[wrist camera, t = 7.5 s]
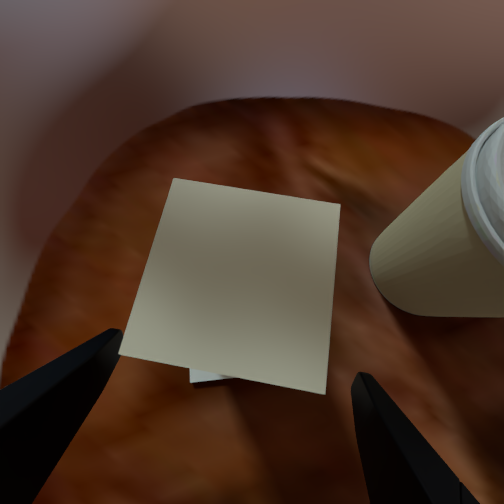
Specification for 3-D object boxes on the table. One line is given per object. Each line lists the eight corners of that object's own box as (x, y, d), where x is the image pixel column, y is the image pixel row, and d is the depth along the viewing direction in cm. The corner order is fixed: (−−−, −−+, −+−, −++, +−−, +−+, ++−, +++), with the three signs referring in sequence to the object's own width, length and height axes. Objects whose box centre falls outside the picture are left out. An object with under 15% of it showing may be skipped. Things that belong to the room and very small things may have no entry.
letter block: (277, 353, 18) (333, 396, 6) (206, 339, 18) (118, 354, 6) (286, 285, 20) (347, 205, 7) (221, 273, 20) (173, 177, 8)
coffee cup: (496, 310, 20) (834, 280, 8) (385, 341, 19) (586, 354, 8) (441, 206, 22) (638, 74, 11) (342, 229, 22) (442, 115, 10)
